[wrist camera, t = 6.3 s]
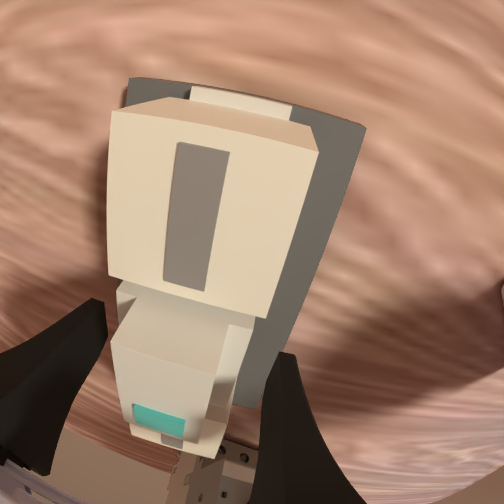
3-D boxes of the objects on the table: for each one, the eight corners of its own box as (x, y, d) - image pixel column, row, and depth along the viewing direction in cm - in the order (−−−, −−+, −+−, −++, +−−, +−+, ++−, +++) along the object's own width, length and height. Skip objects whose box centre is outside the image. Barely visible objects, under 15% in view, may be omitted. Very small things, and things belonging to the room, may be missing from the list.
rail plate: (140, 77, 11) (51, 88, 6) (361, 124, 11) (407, 160, 6) (131, 363, 21) (102, 427, 16) (257, 397, 21) (246, 469, 16)
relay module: (159, 232, 13) (83, 337, 8) (265, 260, 13) (242, 387, 8) (153, 317, 16) (105, 418, 10) (240, 341, 16) (215, 453, 10)
